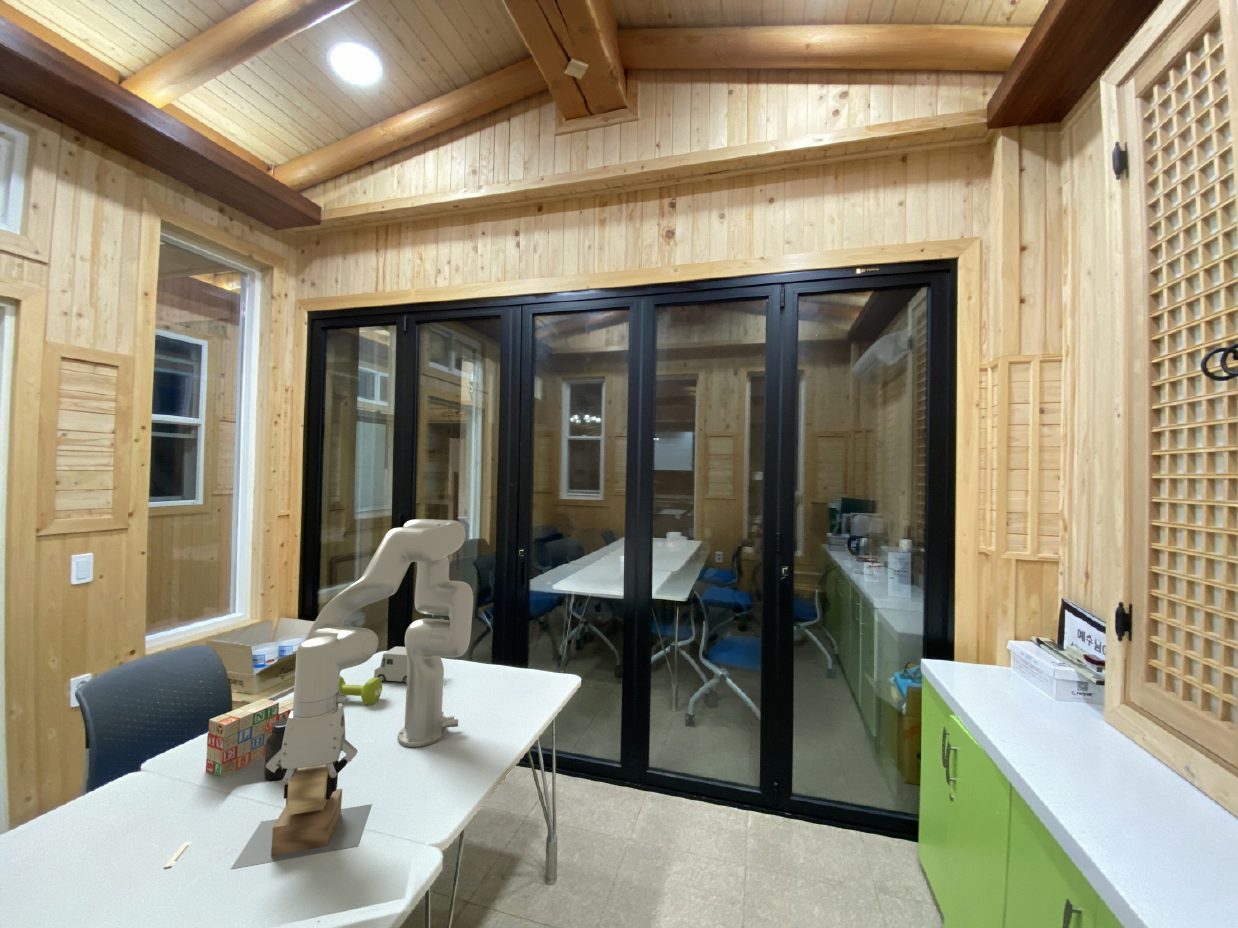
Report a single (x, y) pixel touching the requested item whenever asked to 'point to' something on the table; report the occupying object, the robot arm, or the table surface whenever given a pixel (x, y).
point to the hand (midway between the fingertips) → (310, 796)
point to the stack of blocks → (242, 735)
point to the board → (342, 838)
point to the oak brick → (307, 790)
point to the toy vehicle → (393, 666)
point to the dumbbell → (363, 690)
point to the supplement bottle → (274, 746)
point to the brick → (306, 827)
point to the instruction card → (177, 854)
